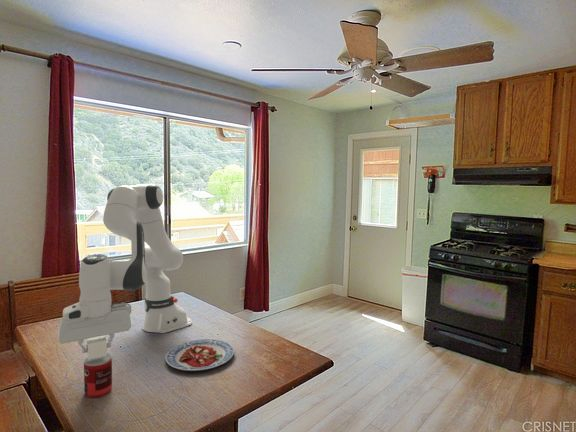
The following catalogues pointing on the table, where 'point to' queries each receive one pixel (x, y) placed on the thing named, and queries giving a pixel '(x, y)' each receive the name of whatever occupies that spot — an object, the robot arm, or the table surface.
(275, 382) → the table surface
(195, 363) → the ceramic plate
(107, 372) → the canned food
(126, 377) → the table surface
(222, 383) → the table surface
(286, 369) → the table surface
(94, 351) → the cream block
